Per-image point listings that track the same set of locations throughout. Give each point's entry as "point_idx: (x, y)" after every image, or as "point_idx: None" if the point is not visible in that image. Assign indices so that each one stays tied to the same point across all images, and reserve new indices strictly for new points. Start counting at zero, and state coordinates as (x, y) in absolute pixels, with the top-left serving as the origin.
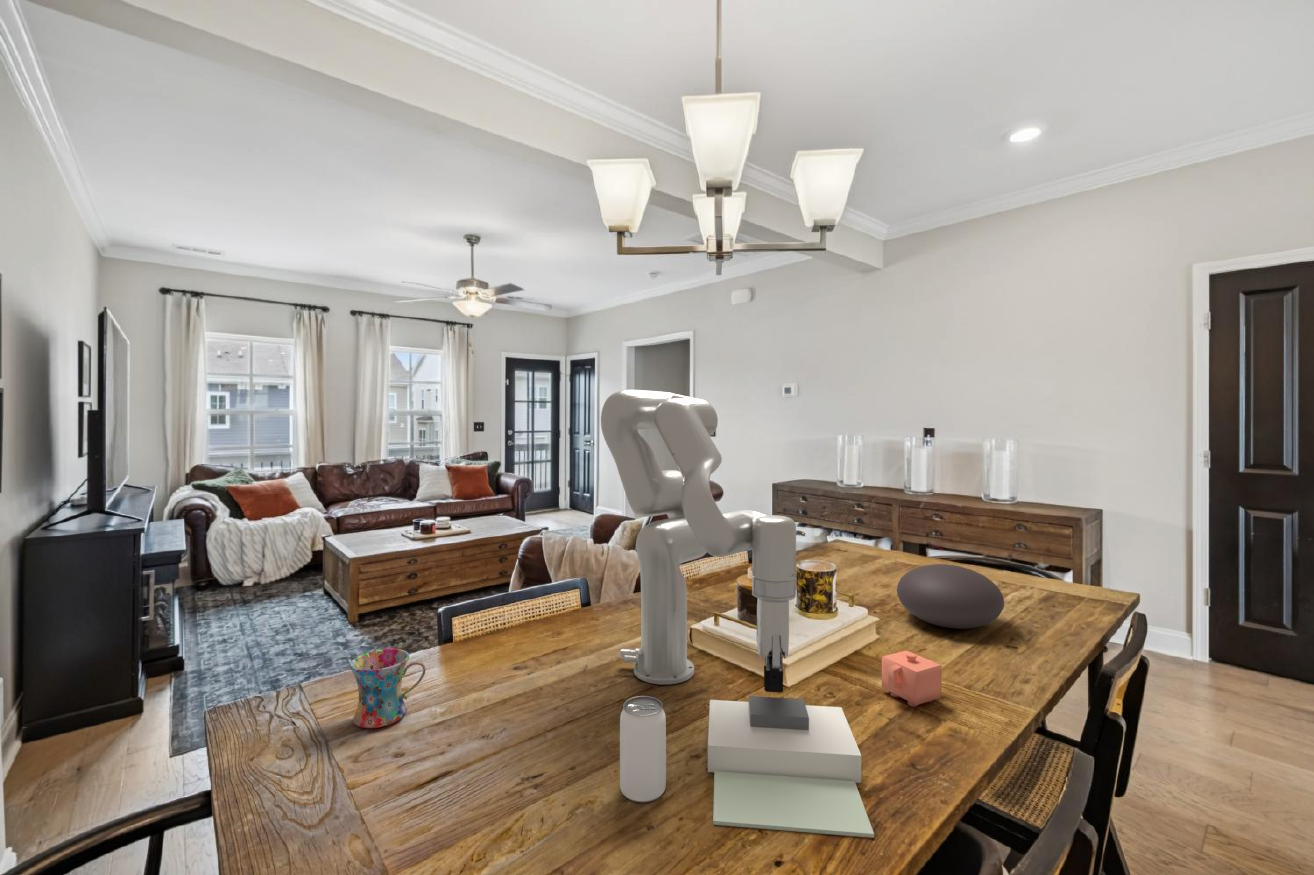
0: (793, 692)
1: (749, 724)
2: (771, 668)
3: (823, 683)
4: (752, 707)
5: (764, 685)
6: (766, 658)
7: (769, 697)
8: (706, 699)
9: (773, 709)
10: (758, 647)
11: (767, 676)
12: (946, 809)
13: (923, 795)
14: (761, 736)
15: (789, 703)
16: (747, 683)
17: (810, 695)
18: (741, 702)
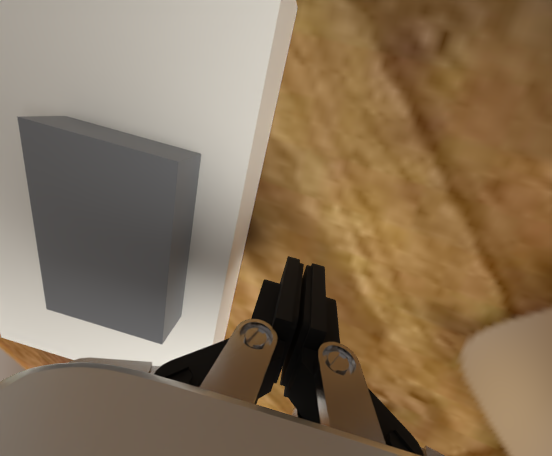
0: (421, 341)
1: (80, 117)
2: (212, 349)
3: (442, 417)
4: (76, 145)
5: (291, 266)
6: (221, 384)
7: (167, 245)
8: (491, 32)
9: (73, 224)
10: (113, 451)
11: (277, 302)
12: (23, 366)
13: (46, 360)
14: (12, 136)
15: (127, 293)
16: (547, 242)
17: (390, 367)
18: (245, 136)
